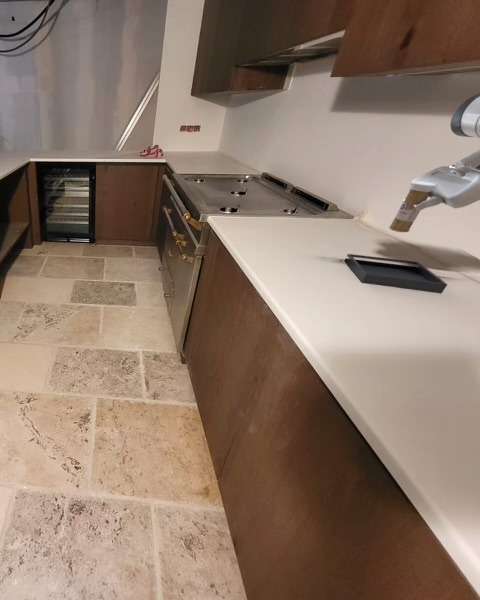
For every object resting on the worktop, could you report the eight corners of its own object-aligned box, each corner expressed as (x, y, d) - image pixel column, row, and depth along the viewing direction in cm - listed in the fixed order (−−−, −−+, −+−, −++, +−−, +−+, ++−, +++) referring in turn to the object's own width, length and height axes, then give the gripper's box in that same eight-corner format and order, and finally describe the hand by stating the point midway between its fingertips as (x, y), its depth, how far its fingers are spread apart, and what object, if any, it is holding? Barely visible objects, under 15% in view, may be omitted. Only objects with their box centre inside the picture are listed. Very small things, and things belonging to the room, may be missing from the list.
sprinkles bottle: (384, 227, 96) (409, 180, 89) (399, 227, 96) (425, 180, 89) (397, 233, 92) (423, 184, 85) (413, 233, 92) (441, 184, 85)
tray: (413, 269, 93) (418, 261, 92) (441, 293, 82) (447, 284, 80) (344, 261, 98) (347, 253, 97) (362, 282, 86) (366, 274, 85)
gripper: (445, 155, 90) (386, 188, 98) (500, 168, 74) (424, 207, 82) (455, 173, 92) (396, 204, 99) (511, 189, 75) (435, 225, 83)
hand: (409, 205), depth 90 cm, fingers closed on sprinkles bottle, 4 cm apart
